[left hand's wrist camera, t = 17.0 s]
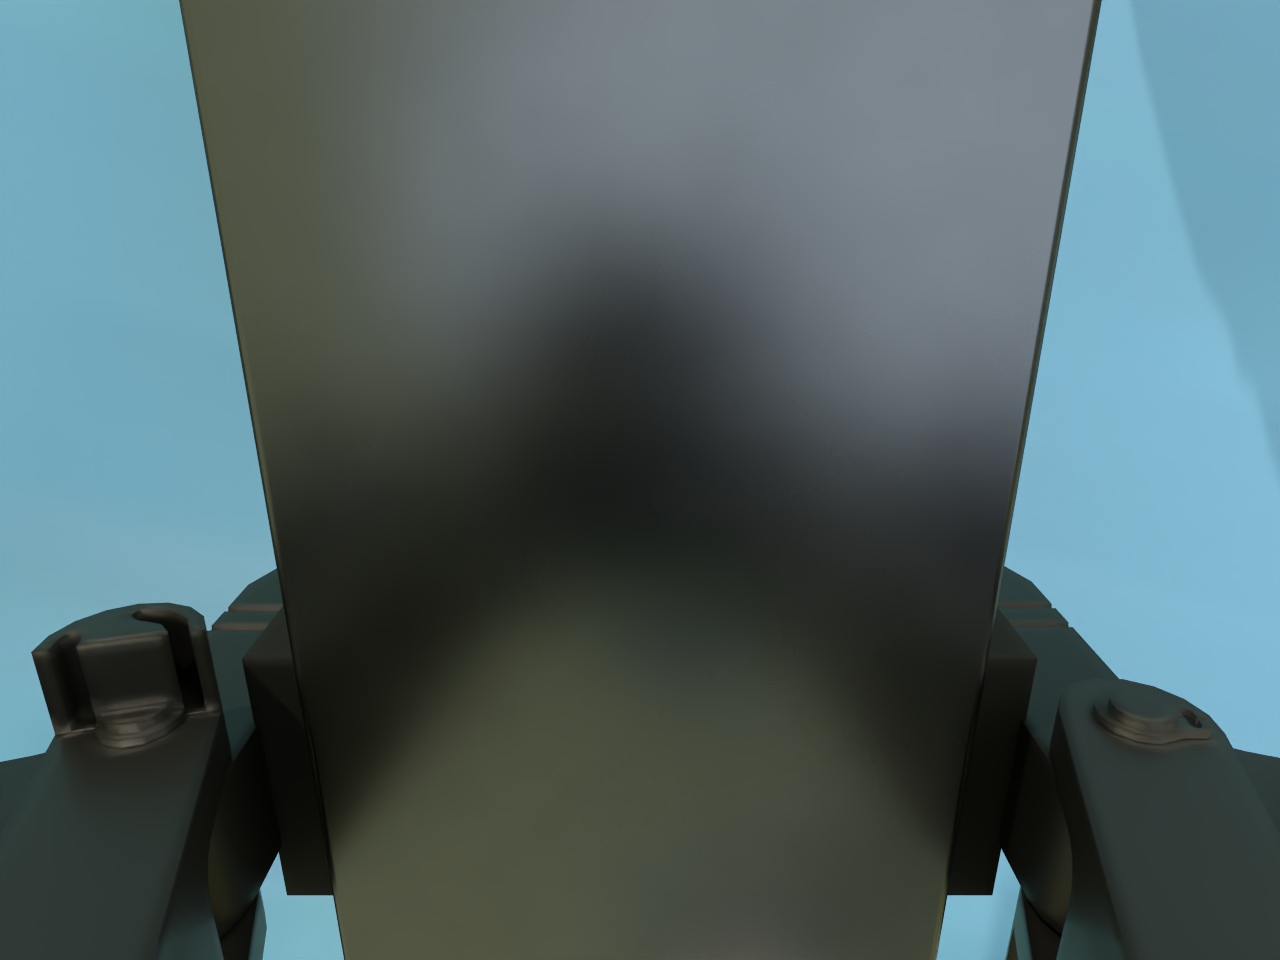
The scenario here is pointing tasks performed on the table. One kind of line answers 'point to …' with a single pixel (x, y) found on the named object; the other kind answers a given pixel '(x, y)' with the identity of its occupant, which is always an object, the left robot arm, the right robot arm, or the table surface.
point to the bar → (640, 445)
